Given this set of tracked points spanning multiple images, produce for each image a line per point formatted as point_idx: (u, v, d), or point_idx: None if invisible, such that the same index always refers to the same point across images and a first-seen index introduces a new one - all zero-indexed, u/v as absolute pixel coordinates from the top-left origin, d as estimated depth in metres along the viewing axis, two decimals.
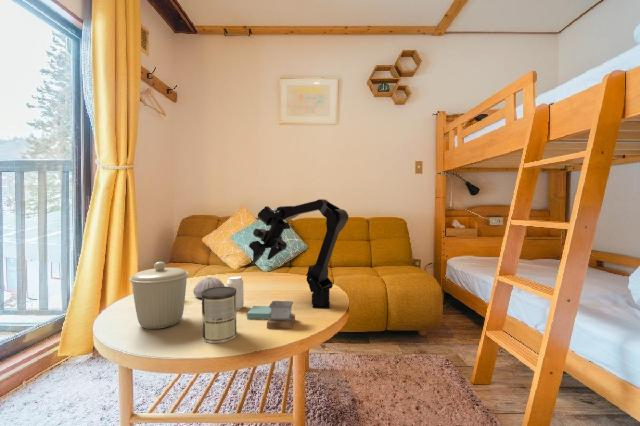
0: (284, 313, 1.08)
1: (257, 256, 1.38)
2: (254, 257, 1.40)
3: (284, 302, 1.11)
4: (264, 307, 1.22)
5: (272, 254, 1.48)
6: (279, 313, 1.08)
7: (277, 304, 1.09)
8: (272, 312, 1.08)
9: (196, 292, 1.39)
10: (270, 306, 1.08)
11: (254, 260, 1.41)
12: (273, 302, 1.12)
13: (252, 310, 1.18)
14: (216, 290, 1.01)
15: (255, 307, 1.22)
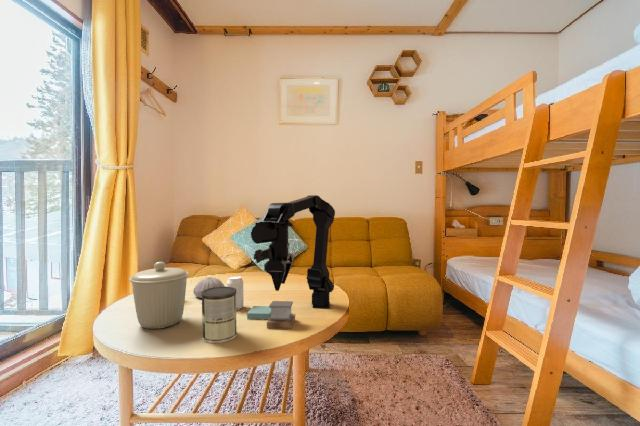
0: (284, 313, 1.08)
1: (280, 277, 1.04)
2: (276, 282, 1.05)
3: (284, 302, 1.11)
4: (264, 307, 1.22)
5: (285, 273, 1.15)
6: (279, 313, 1.08)
7: (277, 304, 1.09)
8: (272, 312, 1.08)
9: (196, 292, 1.39)
10: (270, 306, 1.08)
11: (277, 286, 1.05)
12: (273, 302, 1.12)
13: (252, 310, 1.18)
14: (216, 290, 1.01)
15: (255, 307, 1.22)
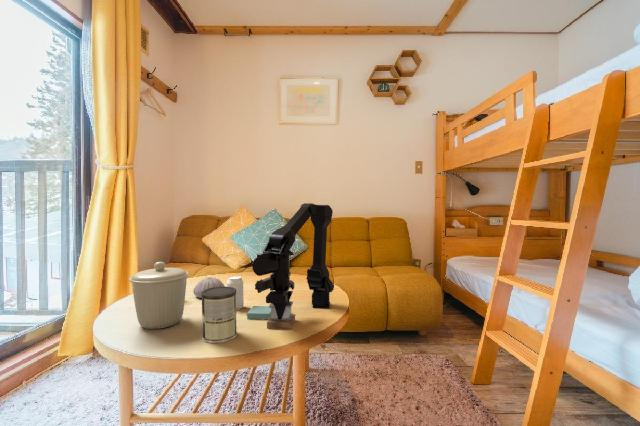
0: (284, 313, 1.08)
1: (283, 307, 1.06)
2: (278, 311, 1.07)
3: None
4: (264, 307, 1.22)
5: None
6: None
7: None
8: (272, 312, 1.08)
9: (196, 292, 1.39)
10: (270, 306, 1.08)
11: (280, 315, 1.07)
12: None
13: (252, 310, 1.18)
14: (216, 290, 1.01)
15: (255, 307, 1.22)
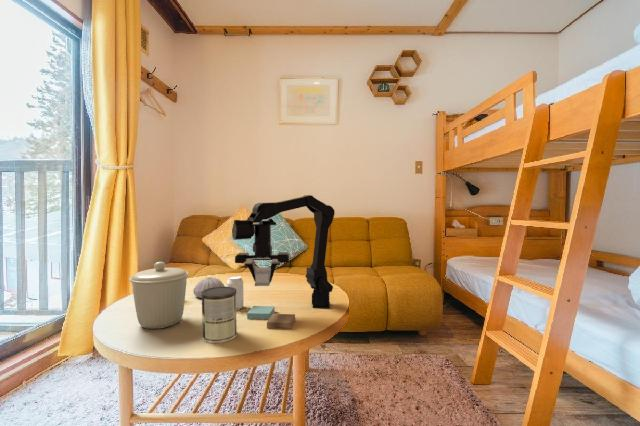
0: None
1: None
2: None
3: (265, 270, 1.17)
4: (264, 307, 1.22)
5: None
6: None
7: (260, 268, 1.18)
8: None
9: (196, 292, 1.39)
10: (257, 268, 1.20)
11: None
12: (267, 267, 1.20)
13: (252, 310, 1.18)
14: (216, 290, 1.01)
15: (255, 307, 1.22)
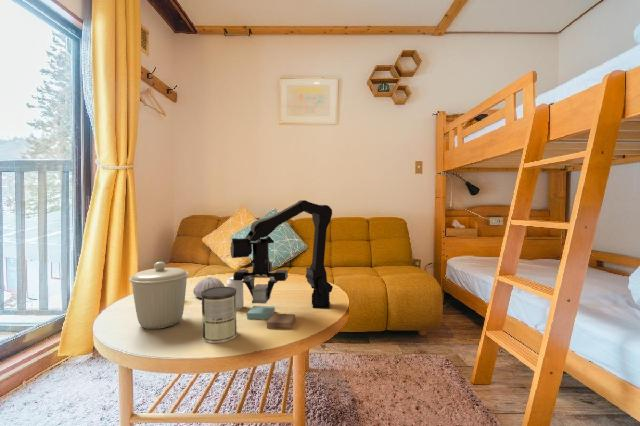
0: None
1: None
2: None
3: (263, 287, 1.18)
4: (264, 307, 1.22)
5: None
6: None
7: (258, 285, 1.20)
8: None
9: (196, 292, 1.39)
10: None
11: None
12: (266, 284, 1.22)
13: (252, 310, 1.18)
14: (216, 290, 1.01)
15: (255, 307, 1.22)
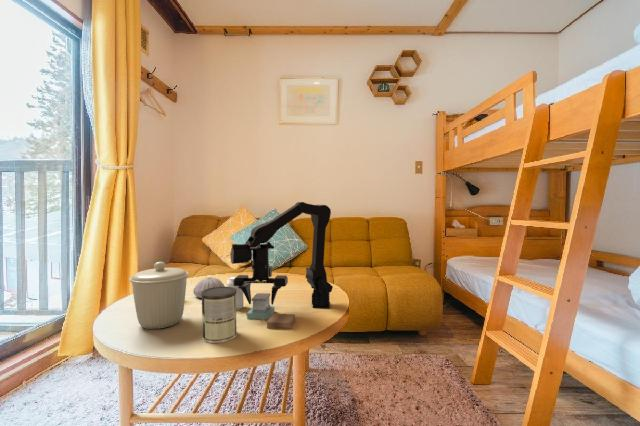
0: None
1: None
2: None
3: (263, 296, 1.18)
4: None
5: None
6: None
7: (258, 295, 1.20)
8: None
9: (196, 292, 1.39)
10: (256, 294, 1.22)
11: None
12: (266, 293, 1.22)
13: None
14: (216, 290, 1.01)
15: None
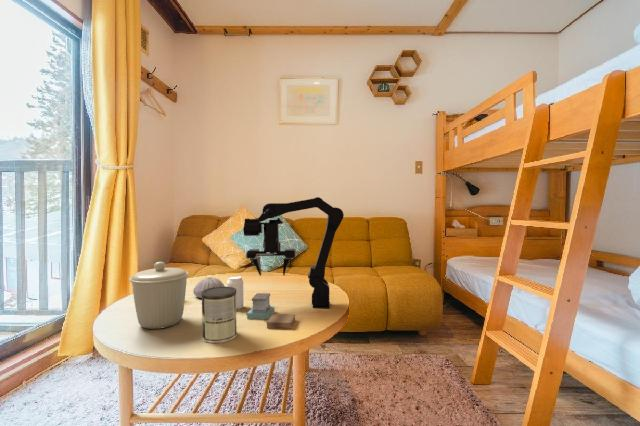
0: None
1: None
2: None
3: (263, 296, 1.18)
4: None
5: None
6: None
7: (258, 295, 1.20)
8: None
9: (196, 292, 1.39)
10: (256, 294, 1.22)
11: None
12: (266, 293, 1.22)
13: None
14: (216, 290, 1.01)
15: None
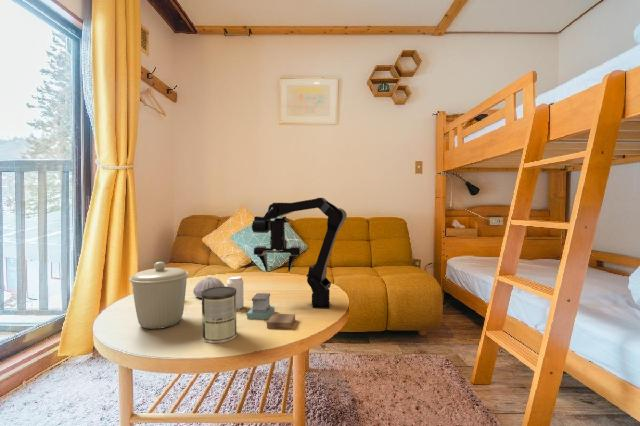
0: None
1: None
2: None
3: (263, 296, 1.18)
4: None
5: None
6: None
7: (258, 295, 1.20)
8: None
9: (196, 292, 1.39)
10: (256, 294, 1.22)
11: None
12: (266, 293, 1.22)
13: None
14: (216, 290, 1.01)
15: None
